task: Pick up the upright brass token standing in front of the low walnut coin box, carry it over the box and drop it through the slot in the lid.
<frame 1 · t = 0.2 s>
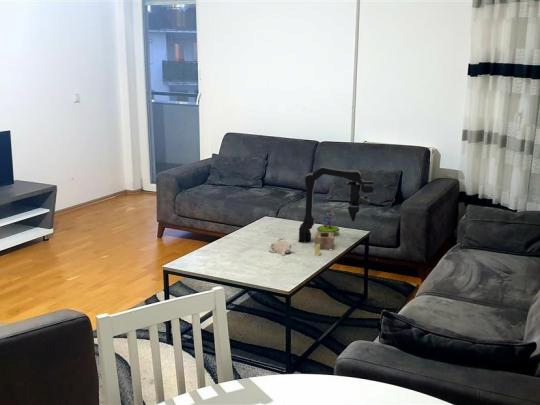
hand: (353, 219, 347), 14 cm above the table, fingers open, 9 cm apart
turtle: (281, 252, 336), on the table
potted plant: (328, 234, 369), on the table
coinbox: (324, 246, 345), on the table
token: (317, 254, 333), on the table
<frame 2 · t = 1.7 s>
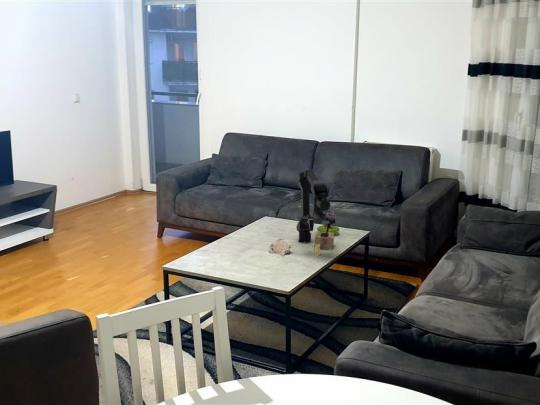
hand: (318, 234, 330), 11 cm above the table, fingers open, 9 cm apart
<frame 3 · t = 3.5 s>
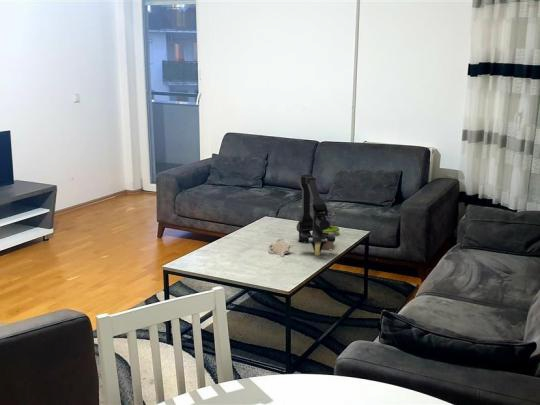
hand: (317, 252, 333), 1 cm above the table, fingers closed on token, 2 cm apart
token: (317, 253, 333), on the table, touching gripper
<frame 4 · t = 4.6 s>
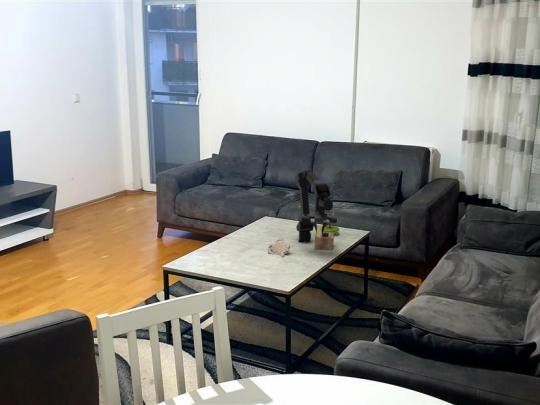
hand: (319, 233, 334), 11 cm above the table, fingers closed on token, 2 cm apart
token: (319, 235, 334), point 10 cm above the table, touching gripper
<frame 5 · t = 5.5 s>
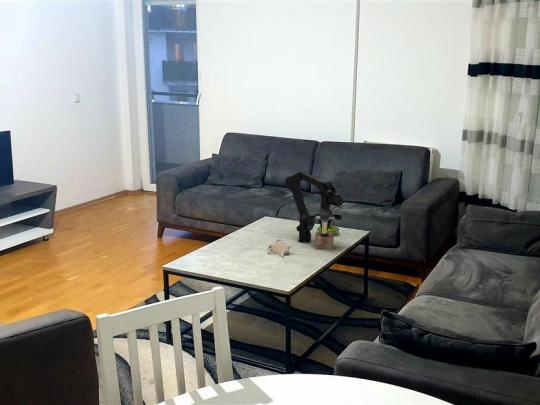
hand: (324, 230, 343), 10 cm above the table, fingers closed on token, 2 cm apart
token: (324, 232, 343), point 9 cm above the table, touching gripper
when the fingers open (9 cm above the table, at t = 5.7 s): token drops 8 cm, resting on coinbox.
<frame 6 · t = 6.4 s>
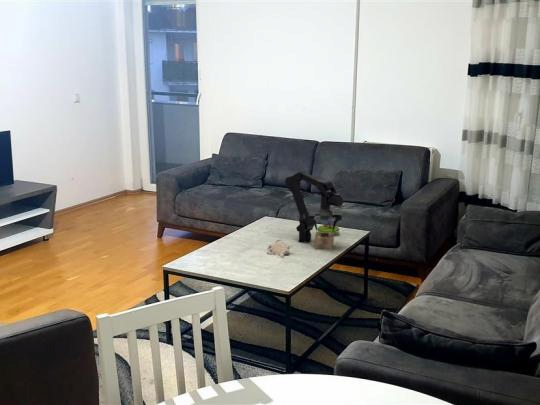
hand: (324, 230, 343), 9 cm above the table, fingers open, 9 cm apart
token: (324, 246, 345), resting on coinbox
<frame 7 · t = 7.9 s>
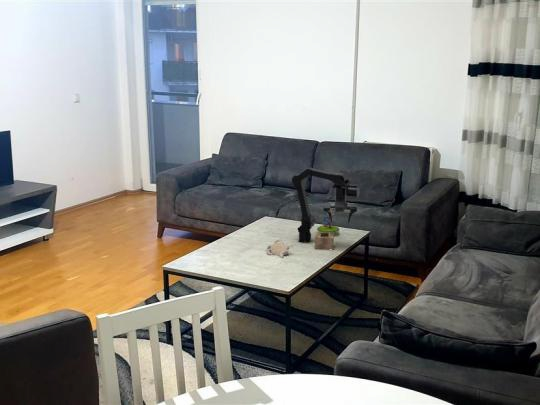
hand: (340, 222, 343), 14 cm above the table, fingers open, 9 cm apart
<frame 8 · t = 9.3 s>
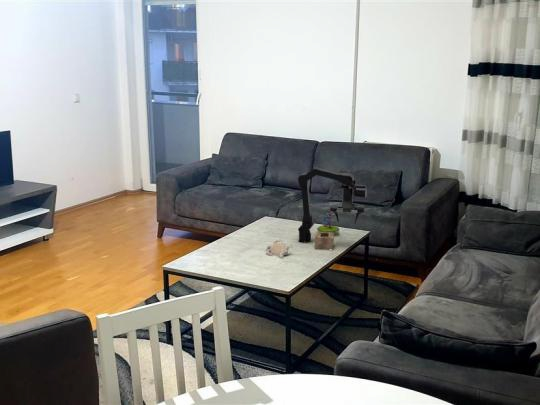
hand: (346, 223, 345), 13 cm above the table, fingers open, 9 cm apart
at the end: token inside the target area on the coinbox (0.1 cm from its centre), point 0.3 cm above the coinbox's base; the gripper is holding nothing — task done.
